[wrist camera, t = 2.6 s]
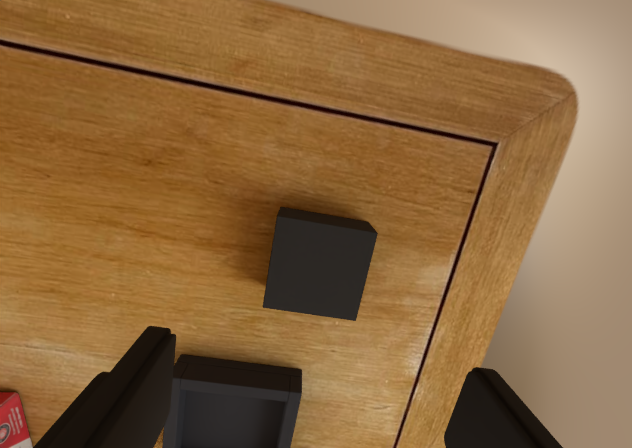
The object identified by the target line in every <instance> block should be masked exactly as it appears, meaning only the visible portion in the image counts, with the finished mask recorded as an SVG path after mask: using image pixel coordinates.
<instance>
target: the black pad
mask: <svg viewBox="0 0 632 448" xmlns="http://www.w3.org/2000/svg"><path fill="white" fill-rule="evenodd" d="M377 234H378V233H377V232H376V231H375V229H374V228H373V227H372V226H371V225H370V223H369V222H366V221H360V220H354V219H349V218H343V217H337V216H331V215H326V214H320V213H314V212H308V211H303V210H297V209H291V208H285V207H280V210H279V212H278V215H277V220H276V226H275V232H274V239H273V245H272V251H271V258H270V264H269V271H268V277H267V283H266V290H265V296H264V302H263V308H270V309H277V310H284V311H291V312H298V313H305V314H312V315H319V316H326V317H333V318H340V319H347V320H353V321H356V318H357V314H358V310H359V306H360V302H361V298H362V294H363V290H364V286H365V282H366V278H367V274H368V270H369V266H370V262H371V258H372V254H373V250H374V246H375V242H376V238H377Z"/></svg>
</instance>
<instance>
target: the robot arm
mask: <svg viewBox="0 0 632 448" xmlns="http://www.w3.org/2000/svg"><path fill="white" fill-rule="evenodd" d="M175 345H176V335H175V334H171V331H170V329H169V328H163V327H155V326H149V327H147V328H146V330H145V331H144V332H143V333H142V334H141V336H140V337H139V338H138V339H137V340H136V342H135V343H134V344H133V345H132V346H131V348H130V349H129V350H128V351H127V352H126V354H125V355H124V356H123V357H122V358H121V360H120V361H119V362H118V363H117V364H116V366H115V367H114V368H113V369H112V370H111V372H101V373H100V374H98V375H97V376H96V377H95V378H94V379H93V380H92V381H91V382H90V383H89V385H88V386H87V387H86V388H85V389H84V390H83V391H82V392H81V394H80V395H79V396H78V397H77V398H76V399H75V400H74V402H73V403H72V404H71V405H70V406H69V407H68V408H67V410H66V411H65V412H64V413H63V414H62V415H61V416H60V418H59V419H58V420H57V421H56V422H55V423H54V424H53V426H52V427H51V428H50V429H49V430H48V431H47V432H46V433H45V435H44V436H43V437H42V438H41V439H40V440H39V441H38V443H37V444H36V445H35V446H34V447H33V448H153V447H154V445H155V443H156V441H157V439H158V437H159V435H160V433H161V431H162V429H163V426H164V424H165V422H166V420H167V418H168V415H169V411H170V406H171V395H172V382H173V370H174V358H175ZM444 441H445V446H446V448H563V447H562V446H561V445H560V444H559V443H558V442H557V441H556V440H555V438H554V437H553V436H552V435H551V434H550V432H549V431H548V430H547V429H546V428H545V427H544V426H543V424H542V423H541V422H540V421H539V420H538V419H537V417H535V415H534V414H533V413H532V412H531V411H530V409H529V408H528V407H527V406H526V405H525V404H524V403H523V401H521V399H520V398H519V397H518V396H517V395H516V393H515V392H514V391H513V390H512V389H511V388H510V386H509V385H508V384H507V383H506V382H505V381H504V380H503V378H502V377H501V376H500V375H499V374H498V373H497V372H496V371H495V370H493V369H486V368H479V367H476V368H473V369H472V371H471V372H469V373H468V374H467V376H466V379H465V381H464V384H463V387H462V389H461V392H460V395H459V397H458V400H457V402H456V405H455V408H454V410H453V413H452V416H451V418H450V421H449V423H448V426H447V429H446V431H445V435H444Z"/></svg>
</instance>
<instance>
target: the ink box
mask: <svg viewBox="0 0 632 448" xmlns="http://www.w3.org/2000/svg"><path fill="white" fill-rule="evenodd" d="M0 448H33V446H32V442H31V439H30V435H29V431H28V427H27V423H26V420H25V416H24V412H23V408H22V404H21V400H20V397H19V394H18V393H15V392H0Z"/></svg>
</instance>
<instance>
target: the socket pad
mask: <svg viewBox="0 0 632 448" xmlns="http://www.w3.org/2000/svg"><path fill="white" fill-rule="evenodd" d="M301 394H302V370H301V369H293V368H285V367H277V366H269V365H262V364H254V363H246V362H238V361H230V360H222V359H214V358H206V357H199V356H191V355H183V354H181V355H180V357H179V359H178V360H177V362H176V364H175V365H174V370H173V382H172V395H171V406H170V411H169V415H168V418H167V420H166V422H165V424H164V434H163V448H290V446H291V441H292V437H293V432H294V427H295V423H296V418H297V413H298V408H299V404H300V399H301Z"/></svg>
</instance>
